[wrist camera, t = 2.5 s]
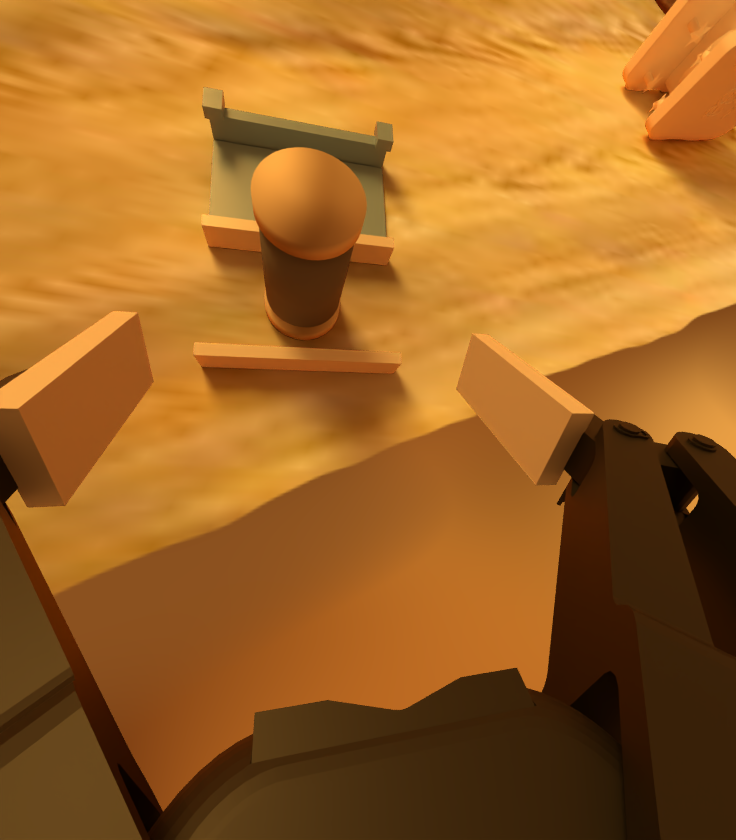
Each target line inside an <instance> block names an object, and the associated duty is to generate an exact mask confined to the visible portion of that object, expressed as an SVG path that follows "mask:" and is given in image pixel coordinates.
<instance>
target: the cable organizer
mask: <svg viewBox="0 0 736 840" xmlns="http://www.w3.org/2000/svg"><path fill="white" fill-rule="evenodd" d="M622 76H623V79H624V81H625V83H626V84H625V87H626V89H627V90H634V91H643V90H644V92H645V91H647V90H648V89H649V90H650V91H651V90H652V89H655V90H660V91H661V92H666V93H669V94H670V95H669V96H668V97H667V98H664V97H665V95H666V94H665V95H664V96H663V97H662V98H661V99H660V100H658V101H656V102H654V103H653V107H652V108H651V109H650V111H651V110H653V109H655V110H654V111H653V113H652V114H651V115H650V116H649V117H648V118H647V120H646V122H645V127H646V129H647V132H648V136H649V138H650V139H651V140H667V139H684V140H696V141H698V140H710V139H714V138H717V137H719V136H722V135H723V134H725V133H727V132H729V131H730V130H731V129H733V128H734V127H735V126H736V0H677V1H676V2H675V3H674V4H673V6H672V7H671V8H670V10H669V11H668V12H667V13H666V15H665V16H664V17H663V18H662V20H661V21H660V22H659V24H658V25H657V26H656V27H655V29H654V30H653V31H652V32H651V34H650V35H649V36H648V38H647V39H646V40H645V41H644V43H643V44H642V45H641V46H640V48H639V49H638V50H637V52H636V53H635V54H634V55H633V57H632V58H631V59H630V60H629V62H628V63H627V64H626V66H625V68H624V70H623V73H622ZM644 92H643V93H644ZM643 93H642V94H643ZM650 111H649V112H650ZM649 112H648V113H649Z"/></svg>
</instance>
